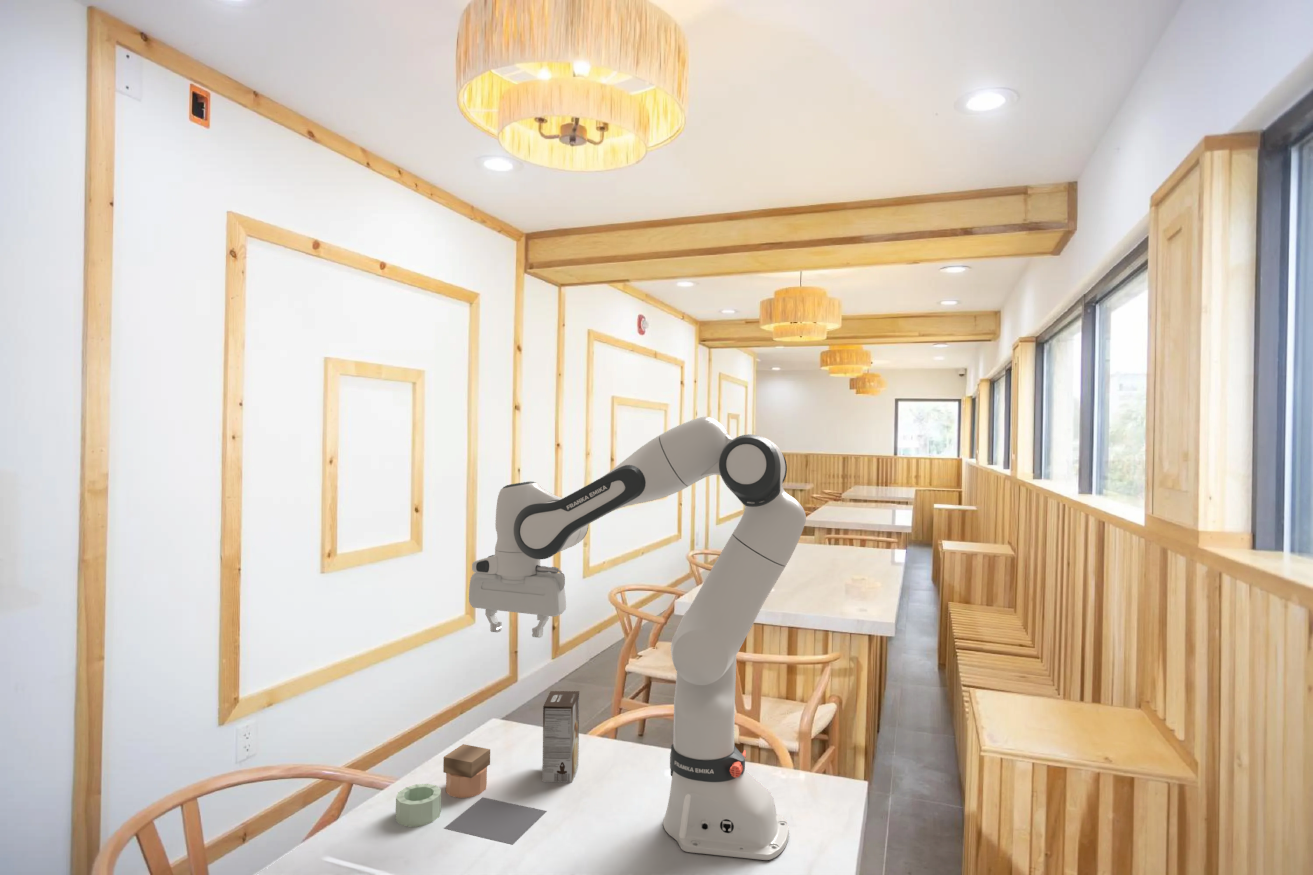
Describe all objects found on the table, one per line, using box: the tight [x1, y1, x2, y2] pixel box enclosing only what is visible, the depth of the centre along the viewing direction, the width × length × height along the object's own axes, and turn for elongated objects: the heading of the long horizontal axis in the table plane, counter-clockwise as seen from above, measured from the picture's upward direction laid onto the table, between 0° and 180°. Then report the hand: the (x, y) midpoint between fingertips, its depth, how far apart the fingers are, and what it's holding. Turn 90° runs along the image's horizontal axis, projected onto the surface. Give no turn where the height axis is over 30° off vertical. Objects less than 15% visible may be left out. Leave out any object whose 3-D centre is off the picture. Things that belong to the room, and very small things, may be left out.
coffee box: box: [541, 690, 580, 784], centre depth 151 cm, size 9×6×16 cm
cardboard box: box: [442, 743, 491, 778], centre depth 143 cm, size 6×6×3 cm
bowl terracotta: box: [445, 766, 488, 799], centre depth 143 cm, size 8×8×4 cm
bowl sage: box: [395, 783, 442, 828], centre depth 133 cm, size 8×8×4 cm
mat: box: [443, 796, 548, 845], centre depth 132 cm, size 14×12×1 cm
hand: (516, 634), depth 143 cm, fingers open, 8 cm apart
